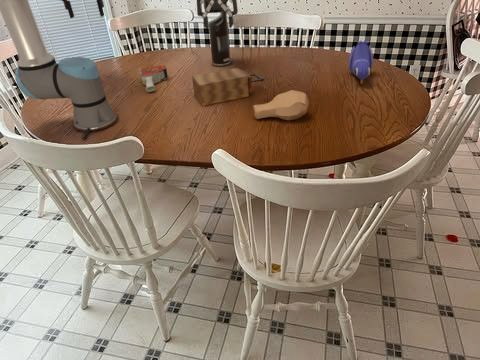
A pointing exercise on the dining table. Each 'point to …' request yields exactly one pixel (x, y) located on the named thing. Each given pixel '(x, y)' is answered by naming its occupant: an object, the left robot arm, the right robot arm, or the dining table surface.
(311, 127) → the dining table surface
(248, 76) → the drawer
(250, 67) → the dining table surface
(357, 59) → the toy
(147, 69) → the tape dispenser
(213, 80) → the brown wooden block
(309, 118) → the dining table surface
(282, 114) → the squash
